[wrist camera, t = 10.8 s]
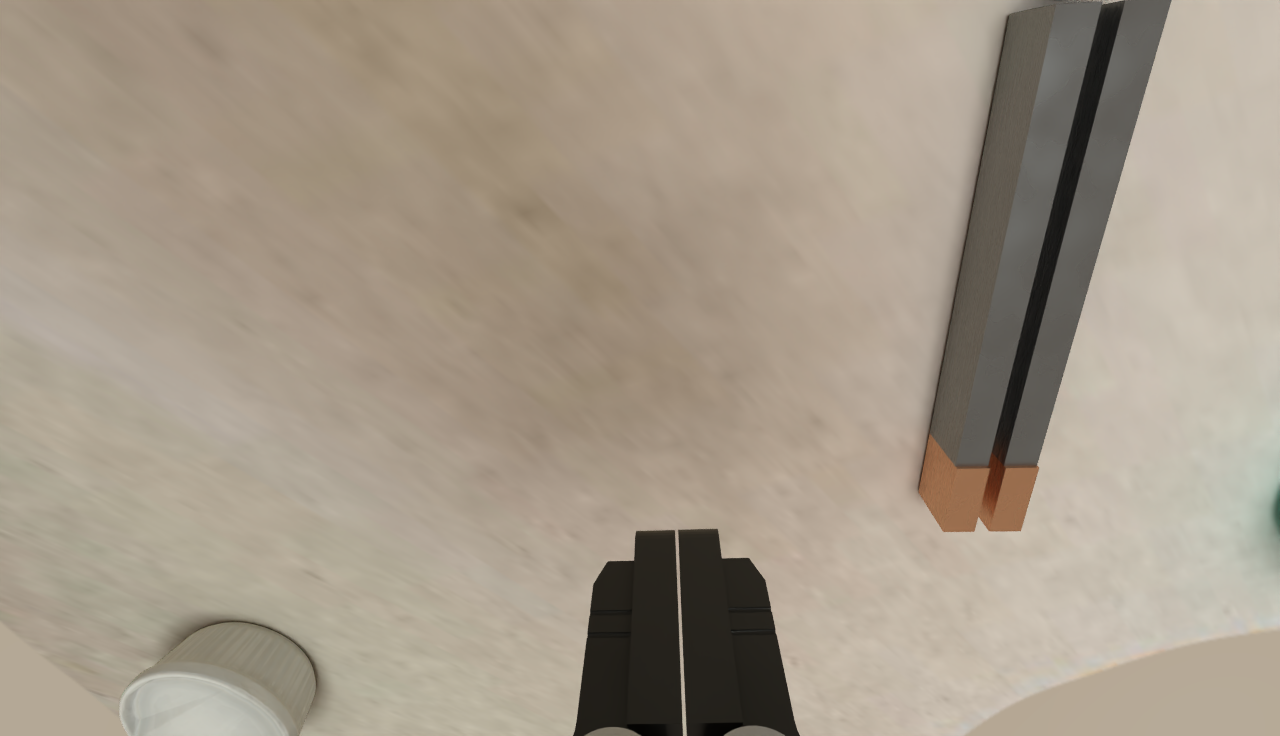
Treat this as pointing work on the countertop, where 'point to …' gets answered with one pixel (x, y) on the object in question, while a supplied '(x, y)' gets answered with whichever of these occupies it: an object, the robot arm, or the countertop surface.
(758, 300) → the countertop surface
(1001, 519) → the base
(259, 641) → the ramekin
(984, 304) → the tongs arm
